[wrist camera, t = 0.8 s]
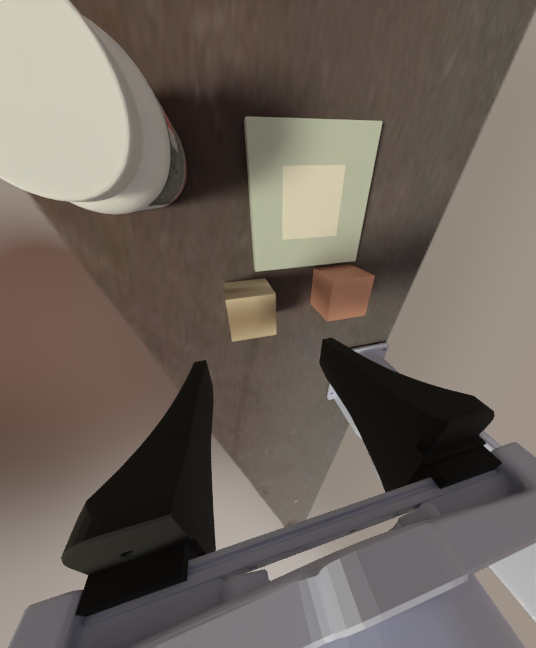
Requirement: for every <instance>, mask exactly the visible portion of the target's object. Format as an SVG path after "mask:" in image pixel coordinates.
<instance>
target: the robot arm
mask: <svg viewBox="0 0 536 648" xmlns="http://www.w3.org/2000/svg"><path fill="white" fill-rule="evenodd" d="M387 348H388V344H387V343H386V342H384V343H379V344H374V345H369V346H363V347H358V348H353V349H350V348H349V347H347V346H345V345H343V344H342V343H340V342H338V341H337V340H335V339H333V338H327V339H323V340H322V348H321V355H320V363H319V364H320V366H321V368H322V370H323V372H324V374H325V376H326V378H327V380H328V381H329V389H328V394H327V398H328V399H329V400H331V399H335V401H336V403H337V404H338V406H339V408H340V409H341V411H342V412H343V414H344V416H345V417H346V419H347V421H348V422H349V424H350V425H351V427H352V429H353V430H354V431H355V433H356V434H357V435H358V436H359V437H360V438H361V439H362V440H363V442H364V444H365V446H366V448H367V450H368V452H369V455H370V457H371V458H372V464H373V467H374V470H375V472H376V474H377V476H378V478H379V479H380V481H381V482H382V485H383V487H384V490H385V492H386V493H383V494H380V495H378V496H374V497H372V498H369V499H366V500H363V501H360V502H357V503H354V504H351V505H348V506H345V507H343V508H339V509H337V510H334V511H331V512H328V513H325V514H322V515H319V516H316V517H313V518H310V519H307V520H305V521H302V522H299V523H296V524H293V525H290V526H287V527H284V528H281V529H279V530H276V531H273V532H270V533H267V534H264V535H261V536H258V537H255V538H252V539H249V540H246V541H244V542H241V543H238V544H235V545H232V546H229V547H226V548H223V549H220V550H218V551H215V550H216V546H215V531H214V515H213V494H212V471H211V433H212V417H213V385H212V381H211V377H210V374H209V370H208V366H207V362H206V360H204V361H198V362H195V363H194V364H193V366H192V368H191V370H190V372H189V375H188V377H187V379H186V380H185V382H184V384H183V386H182V388H181V390H180V391H179V393H178V395H177V397H176V398H175V400H174V401H173V403H172V405H171V406H170V408H169V409H168V411H167V412H166V414H165V415H164V417H163V418H162V420H161V421H160V422H159V423H158V425H157V426H156V427H155V429H154V430H153V431H152V432H151V434H150V435H149V436H148V437H147V439H146V440H145V441H144V442H143V443H142V445H141V446H140V447H139V448H138V449H137V450H136V452H135V453H134V454H133V455H132V456H131V457H130V458H129V459H128V460H127V461H126V462H125V464H124V465H123V466H122V467H121V468H120V469H119V470H118V471H117V472H116V473H115V474H114V475H113V476H112V477H111V478H110V479H109V480H108V481H107V482H106V483H105V484H104V485H103V486H102V487H101V488H100V489H99V490H97V491H96V493H94V494H93V495H92V496H91V497H90V498H89V499H88V500H87V501H86V503H85V505H84V507H83V509H82V511H81V513H80V515H79V517H78V519H77V521H76V523H75V526H74V528H73V531H72V533H71V535H70V538H69V540H68V542H67V545H66V547H65V550H64V552H63V554H62V557H61V559H62V562H63V564H64V565H65V566H67V567H68V568H71V569H74V570H76V571H79V572H82V573H84V574H87V575H88V578H87V581H86V584H85V587H84V590H77V591H71V592H68V593H65V594H62V595H59V596H56V597H53V598H50V599H47V600H44V601H41V602H38V603H35V604H32V605H30V606H29V607H28V608H27V609H26V610H25V611H24V613H23V616H22V618H21V620H20V622H19V624H18V627H17V629H16V631H15V633H14V635H13V637H12V640H11V642H10V644H9V646H8V648H525V647H524V645H523V644H522V642H521V641H520V640H519V638H518V637H517V635H516V634H515V633H514V631H513V629H512V628H511V627H510V625H509V624H508V622H507V621H506V619H505V618H504V617H503V615H502V614H501V612H500V611H499V609H498V608H497V607H496V605H495V604H494V602H493V601H492V599H491V598H490V597H489V595H488V594H487V592H486V591H485V589H484V588H483V587H482V585H481V584H480V583H479V581H478V580H477V578H476V577H475V575H474V573H476V572H478V571H480V570H482V569H484V568H486V567H490V568H491V569H492V570H493V572H494V573H495V574H496V575H497V576H498V577H499V579H500V580H501V581H502V582H503V584H504V585H505V586H506V587H507V588H508V589H509V591H510V592H511V593H512V594H513V596H514V597H515V598H516V599H517V600H518V601H519V603H520V604H521V605H522V606H523V608H524V609H525V610H526V611H527V612H528V614H529V615H530V616H531V617H532V618H533V620H534V621H535V622H536V457H534V456H533V455H532V454H531V453H529V452H528V451H527V450H525V449H524V448H523V447H522V446H520V445H519V444H518V443H516V442H513V443H510V444H507V445H504V446H501V445H500V444H498V443H497V442H496V441H495V440H494V439H492V438H491V437H490V436H489V435H488V434H487V433H486V432H484V431H483V430H484V429H485V428H486V427H487V426H488V425H489V424H490V423H491V421H492V420H493V418H494V411H493V410H492V409H490V408H489V407H488V406H486V405H485V404H484V403H482V402H481V401H480V400H478V399H477V398H476V397H474V396H472V395H468V394H464V393H460V392H456V391H452V390H448V389H444V388H441V387H437V386H434V385H431V384H427V383H424V382H421V381H418V380H415V379H413V378H410V377H407V376H405V375H402V374H399V373H398V372H397V371H396V370H395V369H394V368H393V367H392V366H391V365H390V364H389V363H388V362H386V361H385V360H384V356H385V354H386V351H387ZM406 513H407V514H406ZM403 514H406V515H404V516H402V517H400V518H399V519H398V522H397V523H396V525H395V526H394V527H393V528H392V529H390V530H389V531H388V532H385V533H383V534H380V535H377V536H374V537H371V538H369V539H366V540H364V541H361V542H358V543H356V544H353V545H351V546H349V547H346V548H344V549H341V550H339V551H336V552H334V553H332V554H329V555H327V556H325V557H323V558H320V559H318V560H316V561H314V562H311V563H309V564H307V565H305V566H303V567H300V568H298V569H296V570H294V571H292V572H290V573H287V574H285V575H283V576H281V577H279V578H277V579H274V580H272V581H270V580H269V579H268V574H267V571H266V570H265V569H264V570H259V571H255V572H250V571H252V570H255V569H258V568H261V567H263V566H266V565H269V564H271V563H274V562H277V561H279V560H282V559H285V558H288V557H290V556H293V555H296V554H298V553H301V552H303V551H306V550H309V549H312V548H314V547H317V546H319V545H322V544H325V543H328V542H330V541H333V540H335V539H338V538H341V537H344V536H347V535H349V534H352V533H354V532H357V531H360V530H362V529H365V528H368V527H370V526H373V525H376V524H379V523H381V522H384V521H387V520H389V519H392V518H395V517H397V516H400V515H403ZM247 572H250V573H247ZM245 573H246V574H245Z"/></svg>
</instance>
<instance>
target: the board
mask: <svg viewBox="0 0 536 648" xmlns="http://www.w3.org/2000/svg"><path fill="white" fill-rule="evenodd" d="M382 122H383V121H367V120H338V119H309V118H279V117H250V116H245V119H244V129H245V144H246V158H247V172H248V187H249V201H250V215H251V229H252V244H253V258H254V269H255V271H256V272H257V271H266V270H276V269H285V268H295V267H304V266H314V265H323V264H333V263H342V262H352V261H356V256H357V251H358V246H359V241H360V236H361V231H362V225H363V220H364V215H365V210H366V205H367V200H368V195H369V189H370V184H371V179H372V174H373V169H374V164H375V158H376V153H377V148H378V143H379V138H380V133H381V128H382Z"/></svg>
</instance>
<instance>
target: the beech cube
mask: <svg viewBox="0 0 536 648" xmlns="http://www.w3.org/2000/svg"><path fill="white" fill-rule="evenodd" d="M223 285H224V292H225V299H226V305H227V312H228V318H229V324H230V331H231V337H232V342H233V341H239V340H245V339H252V338H258V337H264V336H270V335H276V293H275V292H274V290H273V289H272V288H271V286H270V285H269V283H268V282H267V280H266V279H265V278H262V279H253V280H244V281H235V282H226V283H223Z"/></svg>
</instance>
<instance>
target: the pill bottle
mask: <svg viewBox="0 0 536 648" xmlns="http://www.w3.org/2000/svg"><path fill="white" fill-rule="evenodd" d="M186 175H187V165H186V158H185V153H184V150H183V147H182V144H181V141H180V139H179V137H178V135H177V133H176V131H175V129H174V128H173V126H172V124H171V122H170V121H169V119H168V117H167V115H166V114H165V112H164V110H163V108H162V106H161V105H160V103H159V101H158V99H157V97H156V96H155V94H154V92H153V91H152V89H151V87H150V85H149V83H148V82H147V80H146V79H145V77H144V76H143V74H142V73H141V72H140V70H139V69H138V67H137V66H136V65H135V63H134V62H133V61H132V60H131V58H130V57H129V56H128V55H127V53H126V52H125V51H124V50H123V49H122V48H121V47H120V46H119V45H118V44H117V43H116V42H115V41H114V40H113V39H112V38H111V37H110V36H109V35H108V34H107V33H106V32H104V31H103V30H102V29H101V28H99V27H98V26H97V25H96V24H94V23H93V22H92V21H90V20H89V19H87V18H86V17H84V16H83V15H81V13H80V12H79V11H78V10H77V8H76V7H75V6H74V5H73V4H72V3H71V2H70V0H0V178H2V179H3V180H5V181H7V182H9V183H10V184H12V185H14V186H16V187H19V188H21V189H23V190H26V191H28V192H30V193H33V194H36V195H39V196H42V197H46V198H50V199H54V200H60V201H69V202H71V203H73V204H75V205H78V206H80V207H82V208H85V209H88V210H92V211H96V212H100V213H107V214H129V213H136V212H140V211H147V210H153V209H159V208H162V207H165V206H167V205H169V204H171V203H172V202H174V201H175V200H176V199H177V198H178V196H179V195H180V194H181V192H182V190H183V188H184V185H185V181H186Z"/></svg>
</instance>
